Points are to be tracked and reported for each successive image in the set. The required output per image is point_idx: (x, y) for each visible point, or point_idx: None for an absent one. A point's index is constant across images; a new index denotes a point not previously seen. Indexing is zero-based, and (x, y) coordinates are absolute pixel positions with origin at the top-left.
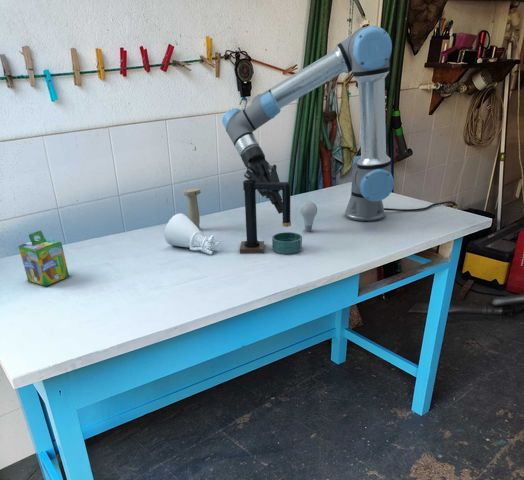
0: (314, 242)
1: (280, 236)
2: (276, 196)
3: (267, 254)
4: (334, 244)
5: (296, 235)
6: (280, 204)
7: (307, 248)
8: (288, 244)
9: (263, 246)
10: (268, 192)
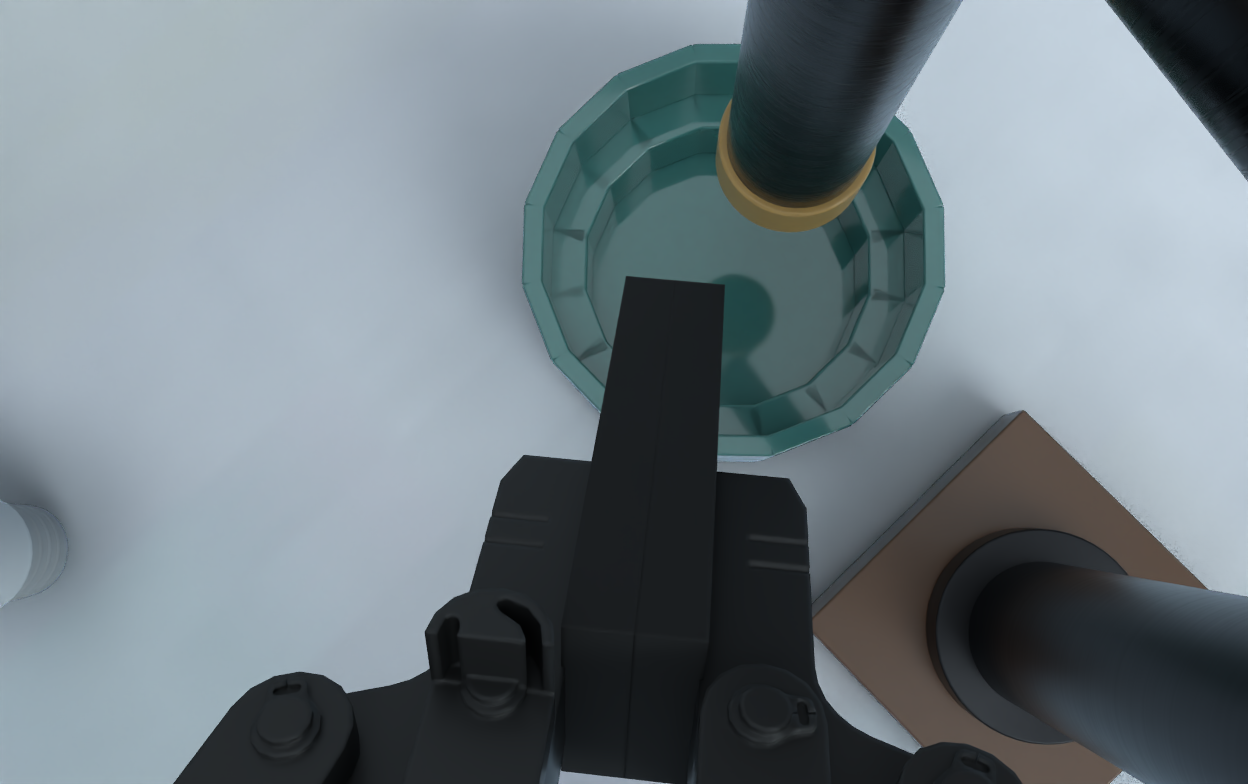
0: (313, 218)
1: None
2: (678, 523)
3: (995, 350)
4: (219, 5)
5: (546, 247)
6: (699, 358)
7: (524, 142)
8: None
9: (959, 474)
10: (836, 764)
